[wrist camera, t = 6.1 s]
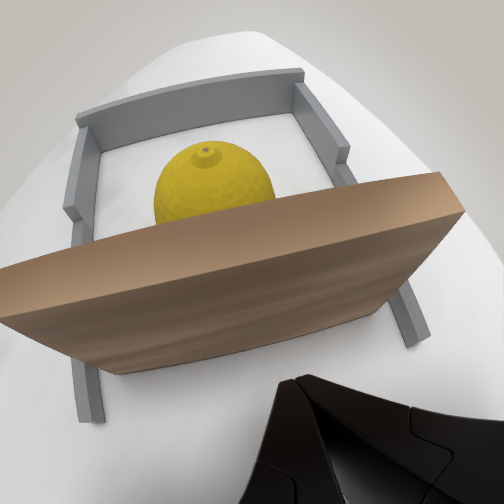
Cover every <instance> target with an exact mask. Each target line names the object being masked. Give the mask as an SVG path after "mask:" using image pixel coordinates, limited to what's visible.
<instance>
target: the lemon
mask: <svg viewBox="0 0 504 504" xmlns="http://www.w3.org/2000/svg"><path fill="white" fill-rule="evenodd" d="M272 199H276V198H275V194H274V190H273V187H272V184H271V181H270V178H269V176H268V174H267V172H266V171H265V169H264V168H263V166H262V165H261V163H260V162H259V161H258V160H257V159H256V158H255V157H254V156H253V155H252V154H250V153H249V152H248V151H247V150H245V149H243V148H241V147H239V146H236V145H234V144H230V143H226V142H221V141H208V142H201V143H198V144H194V145H192V146H190V147H188V148H186V149H184V150H182V151H181V152H180V153H178V154H177V155H176V156H174V157H173V158H172V160H171V161H170V162H169V163H168V164H167V165H166V166H165V167H164V169H163V171H162V173H161V175H160V177H159V179H158V181H157V185H156V190H155V196H154V213H155V220H156V225H159V224H163V223H167V222H171V221H176V220H180V219H184V218H188V217H193V216H197V215H202V214H206V213H210V212H215V211H220V210H224V209H229V208H233V207H238V206H243V205H248V204H252V203H257V202H262V201H267V200H272Z"/></svg>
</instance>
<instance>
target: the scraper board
mask: <svg viewBox="0 0 504 504" xmlns="http://www.w3.org/2000/svg"><path fill="white" fill-rule="evenodd" d="M464 212H465V209H464V208H463V206H462V205H461V203H460V201H459V200H458V198H457V197H456V195H455V194H454V192H453V191H452V189H451V188H450V186H449V185H448V183H447V182H446V180H445V179H444V177H443V176H442V175H441V173H440V172H434V173H426V174H419V175H412V176H405V177H398V178H392V179H385V180H379V181H372V182H366V183H360V184H354V185H348V186H342V187H336V188H331V189H325V190H320V191H314V192H309V193H303V194H298V195H293V196H287V197H282V198H277V199H272V200H267V201H262V202H257V203H252V204H248V205H243V206H238V207H233V208H229V209H224V210H220V211H215V212H210V213H206V214H202V215H197V216H193V217H188V218H184V219H180V220H176V221H171V222H167V223H163V224H159V225H155V226H151V227H147V228H143V229H139V230H135V231H131V232H127V233H123V234H119V235H115V236H112V237H108V238H104V239H100V240H97V241H93V242H89V243H86V244H82V245H78V246H75V247H71V248H68V249H64V250H61V251H57V252H54V253H50V254H47V255H43V256H40V257H37V258H33V259H30V260H27V261H24V262H20V263H17V264H14V265H11V266H8V267H4V268H1V269H0V323H2V324H4V325H6V326H8V327H10V328H11V329H13V330H15V331H17V332H19V333H21V334H23V335H25V336H27V337H29V338H31V339H33V340H35V341H37V342H39V343H41V344H43V345H45V346H47V347H49V348H52V349H54V350H56V351H58V352H60V353H63V354H65V355H67V356H69V357H72V358H74V359H77V360H79V361H81V362H84V363H86V364H89V365H91V366H94V367H96V368H99V369H102V370H104V371H107V372H110V373H112V374H115V375H117V374H124V373H130V372H137V371H143V370H149V369H155V368H161V367H167V366H172V365H178V364H183V363H188V362H193V361H198V360H203V359H208V358H212V357H217V356H222V355H226V354H230V353H235V352H239V351H243V350H248V349H252V348H256V347H260V346H264V345H268V344H271V343H275V342H279V341H283V340H286V339H290V338H294V337H297V336H301V335H304V334H308V333H311V332H315V331H318V330H322V329H325V328H328V327H331V326H335V325H338V324H341V323H344V322H347V321H350V320H354V319H357V318H360V317H363V316H366V315H369V314H372V313H374V312H376V311H377V310H378V309H379V308H380V307H381V306H382V305H383V304H384V303H385V302H386V301H387V300H388V299H389V298H390V297H391V296H392V295H393V294H394V293H395V292H396V291H397V290H398V289H399V288H400V287H401V286H402V285H403V284H404V282H405V281H406V280H407V279H408V278H409V277H410V276H411V275H412V274H413V273H414V272H415V271H416V269H417V268H418V267H419V266H420V265H421V264H422V263H423V262H424V261H425V259H426V258H427V257H428V256H429V255H430V254H431V253H432V251H433V250H434V249H435V248H436V247H437V246H438V244H439V243H440V242H441V241H442V240H443V238H444V237H445V236H446V235H447V234H448V232H449V231H450V230H451V229H452V227H453V226H454V225H455V224H456V222H457V221H458V220H459V219H460V217H461V216H462V215H463V213H464Z"/></svg>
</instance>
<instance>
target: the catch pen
mask: <svg viewBox="0 0 504 504" xmlns="http://www.w3.org/2000/svg"><path fill="white" fill-rule="evenodd" d="M304 75H305V72H304V71H303V69H302V68H290V69H277V70H266V71H257V72H248V73H240V74H233V75H226V76H220V77H214V78H208V79H203V80H197V81H192V82H187V83H182V84H178V85H173V86H169V87H165V88H160V89H156V90H152V91H148V92H145V93H141V94H137V95H134V96H130V97H127V98H123V99H120V100H117V101H113V102H110V103H107V104H104V105H101V106H98V107H95V108H92V109H89V110H87V111H84V112H81V113H78V114H77V115H76V118H75V120H76V122H77V125H78V127H79V133H78V137H77V141H76V145H75V149H74V153H73V157H72V162H71V166H70V171H69V176H68V181H67V186H66V192H65V198H64V204H63V209H64V211H65V212H66V213H67V215H68V216H69V217H70V219H71V220H72V221H73V230H72V242H71V247H75V246H78V245H82V244H86V243H89V242H93V226H94V210H95V198H96V187H97V178H98V169H99V161H100V154H101V152H105V151H108V150H111V149H114V148H118V147H121V146H125V145H128V144H132V143H135V142H139V141H143V140H146V139H150V138H154V137H158V136H162V135H166V134H170V133H174V132H179V131H183V130H188V129H192V128H197V127H202V126H207V125H212V124H217V123H222V122H228V121H234V120H240V119H246V118H252V117H259V116H266V115H273V114H281V113H290V112H292V113H293V115H294V116H295V118H296V120H297V121H298V123H299V124H300V126H301V128H302V129H303V131H304V133H305V134H306V136H307V138H308V139H309V141H310V143H311V145H312V146H313V148H314V150H315V152H316V153H317V155H318V157H319V159H320V160H321V162H322V164H323V166H324V167H325V169H326V171H327V173H328V175H329V177H330V178H331V180H332V182H333V184H334V186H335V188H336V187H342V186H348V185H354V184H358V182H357V181H356V179H355V177H354V175H353V174H352V172H351V170H350V169H349V167H348V165H347V164H346V161H347V157H348V153H349V150H350V145H349V143H348V142H347V140H346V139H345V137H344V136H343V134H342V133H341V131H340V130H339V129H338V127H337V126H336V124H335V123H334V122H333V120H332V119H331V117H330V116H329V115H328V113H327V112H326V111H325V109H324V108H323V107H322V105H321V104H320V103H319V101H318V100H317V99H316V97H315V96H314V95H313V93H312V92H311V91H310V90H309V88H308V87H307V86H306V85H305V83H304ZM388 300H389V303H390V305H391V308H392V310H393V313H394V315H395V318H396V320H397V323H398V325H399V328H400V330H401V333H402V336H403V338H404V341H405V344H406V347H407V348H408V347H411V346H413V345H415V344H417V343H419V342H421V341H423V340H425V339H426V338H428V337H430V336H431V334H430V331H429V329H428V326H427V324H426V321H425V319H424V316H423V314H422V311H421V309H420V306H419V304H418V302H417V299H416V297H415V295H414V292H413V290H412V288H411V286H410V283H409V281H408V279H407V280H406V281H405V282H404V284H403V285H402V286H401V287H400V288H399V289H398V290H397V291H396V292H395V293H394V294H393V295H392V296H391V297H390V298H389V299H388ZM71 363H72V374H73V384H74V392H75V400H76V407H77V414H78V420H79V423H104V422H105V417H104V411H103V405H102V398H101V392H100V385H99V377H98V368H96V367H94V366H91V365H89V364H86V363H84V362H81V361H79V360H77V359H74V358H72V357H71Z"/></svg>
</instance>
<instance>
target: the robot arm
mask: <svg viewBox="0 0 504 504" xmlns="http://www.w3.org/2000/svg"><path fill="white" fill-rule="evenodd" d="M340 488H341V490H342V492H343V493H344V495H345V496H346V498H347V499H348V501H349V503H350V504H504V421H499V420H486V419H476V418H467V417H459V416H453V415H446V414H441V413H437V412H432V411H428V410H423V409H420V408H416V407H411V408H410V406H407V405H403V404H399V403H396V402H392V401H389V400H386V399H382V398H379V397H376V396H373V395H369V394H366V393H363V392H360V391H357V390H354V389H351V388H348V387H345V386H342V385H339V384H336V383H333V382H330V381H327V380H324V379H321V378H319V377H316V376H313V375H310V374H307V375H303V376H300V377H297V378H295V380H294V379H289V380H286V381H282V382H280V383H279V384H278V388H277V391H276V395H275V399H274V402H273V406H272V409H271V413H270V416H269V419H268V423H267V426H266V430H265V433H264V436H263V440H262V443H261V446H260V449H259V452H258V456H257V459H256V462H255V464H254V467H253V470H252V473H251V476H250V478H249V481H248V484H247V486H246V489H245V491H244V493H243V495H242V497H241V499H240V501H239V503H238V504H345V501H344V498H343V495H342V492H341V490H340Z"/></svg>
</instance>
